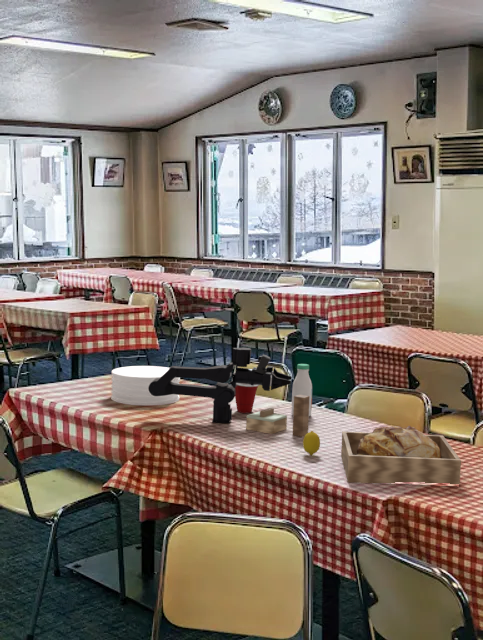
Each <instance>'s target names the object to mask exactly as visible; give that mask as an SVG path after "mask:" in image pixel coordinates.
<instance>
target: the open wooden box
mask: <svg viewBox="0 0 483 640" xmlns="http://www.w3.org/2000/svg"><path fill="white" fill-rule="evenodd" d="M287 421H288V417H286V418H283V419H280V420H278V421H275V422H269V421H263V420H258V419H252V418H246V421H245V422H246V423H245V425H246V426H245V430H248V431H254V432H258V433H265V434H270V435H273V434H276V433H279V432H282V431H285V430H287V425H288V422H287Z"/></svg>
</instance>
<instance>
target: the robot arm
mask: <svg viewBox="0 0 483 640" xmlns="http://www.w3.org/2000/svg"><path fill="white" fill-rule="evenodd" d="M251 355H252V349H251V348H249V347H232V360H231V362H229V363H228V364H227V365H225V364H222V365H215V366H208V367H196V366H176V365H173V366H170V367H169V368H170V369H169V370H168V371H167V372H166V373H165V374H164V375H163V376H162V377H161V378H156V379H154V380H153V381H152V382H151V383H150V385H149V392H150V393H151V395H153V396H165V395H171V394H177V395H179V396H188V397H199V398H208V399H209V398H210V399H213V402H212V403H213V405H212V406H213V407H212V420H211V421H212V422H211V423H219V424H220V423H221V424H230V423H231V421H232V419H233V408H232V407H231V404H230V403H231V402H233V401H234V399H235V395H236V390H235V388H236V383H243V384H251V385H253V386H254V385H259V386H261V388H262V390H264V391H265V392H266V391H267V392H270V391H273V390H275V389H279V388H281V387H286V386H288V385H289V386H290V385H291V384H292V380H293V379H292V376H291V375H289V374H284V373H282V372H280V371H278V370H277V369H276V367H274V365H268V364H269V363H270V361H271V356H268V355H267V354H262V355H259V356H258V358H257V361H258V364H257V366H256V367H252V368H249V367H248V365H251V357H252V356H251ZM247 367H248V368H247ZM234 369H235V371H234V372H233V370H234ZM232 372H233V373H232ZM176 377H177V378H180V379H181V378H183V379H203V380H209V381H211V382H215V383H216V384H215V385H214V386H213V385H211V386H209V385H198V384H189V383H188V384H186V383H179V384H178V383H173V382H171V381H172V380H173V379H174V378H176ZM230 378H231V381H230V382H228V381H229V380H230Z"/></svg>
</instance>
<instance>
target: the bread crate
mask: <svg viewBox="0 0 483 640" xmlns="http://www.w3.org/2000/svg"><path fill="white" fill-rule="evenodd" d="M371 433H372V432H365V431H364V432H363V431H361V432H360V431H344V430H343V431H342V432H341V449H340V450H341V453H340V457H341V460H342V464H343V469H344V473H345V478H346V482H347V483H352V484H353V483H355V484H372V483H395V482H425V483H450V484H460V483H461V468H462V467H461V466H462V460H461V458H460V457H459V456H458V454H457V453H456V452H455V450H454V449H453V447H452V445H451V444H450V443H449V442H448V440H447V439H446V438H445V436H444V435H439V434H438V435H437V434H425V435H426V436H427V437H429V438H430V439H432V441H434V442H435V443H436V444H437V445H438V447H439V448H440V452H441V458H417V457H393V456H369V455H357V449H358V445H359V442H360V439H363V437H364V436H365V435H368V434H371ZM460 485H461V484H460Z"/></svg>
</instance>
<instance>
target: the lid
mask: <svg viewBox="0 0 483 640" xmlns="http://www.w3.org/2000/svg"><path fill="white" fill-rule="evenodd" d="M246 418H252V419H258V420H263V421H269V422H275V421H278V420H280V419H283V418H288V415H287V414H282V413H275V408H272V407H269V408H265V409H262V410H259V411H256V412H253V413H250V414H247V415H246Z"/></svg>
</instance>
